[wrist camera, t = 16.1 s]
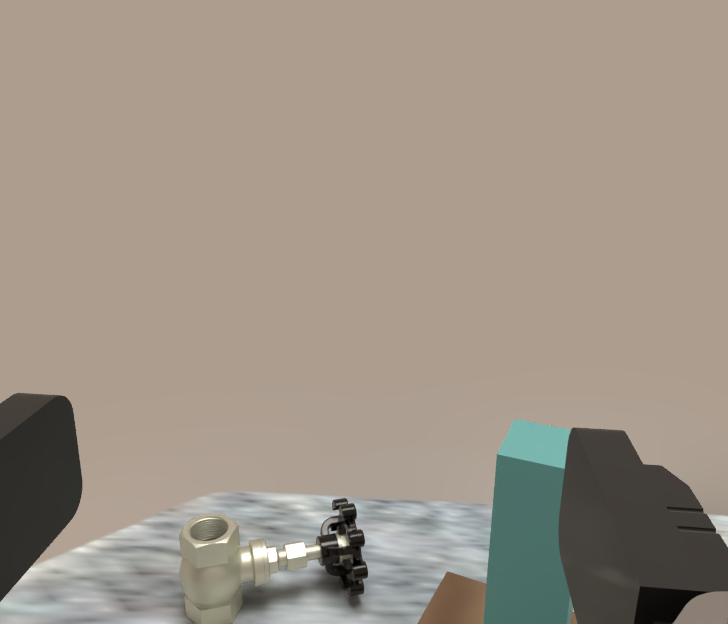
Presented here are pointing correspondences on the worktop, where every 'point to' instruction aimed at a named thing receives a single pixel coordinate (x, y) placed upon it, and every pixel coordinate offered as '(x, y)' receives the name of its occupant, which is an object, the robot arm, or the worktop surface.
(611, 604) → the robot arm
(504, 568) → the plug
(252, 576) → the valve
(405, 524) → the worktop surface
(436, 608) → the board
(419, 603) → the worktop surface
